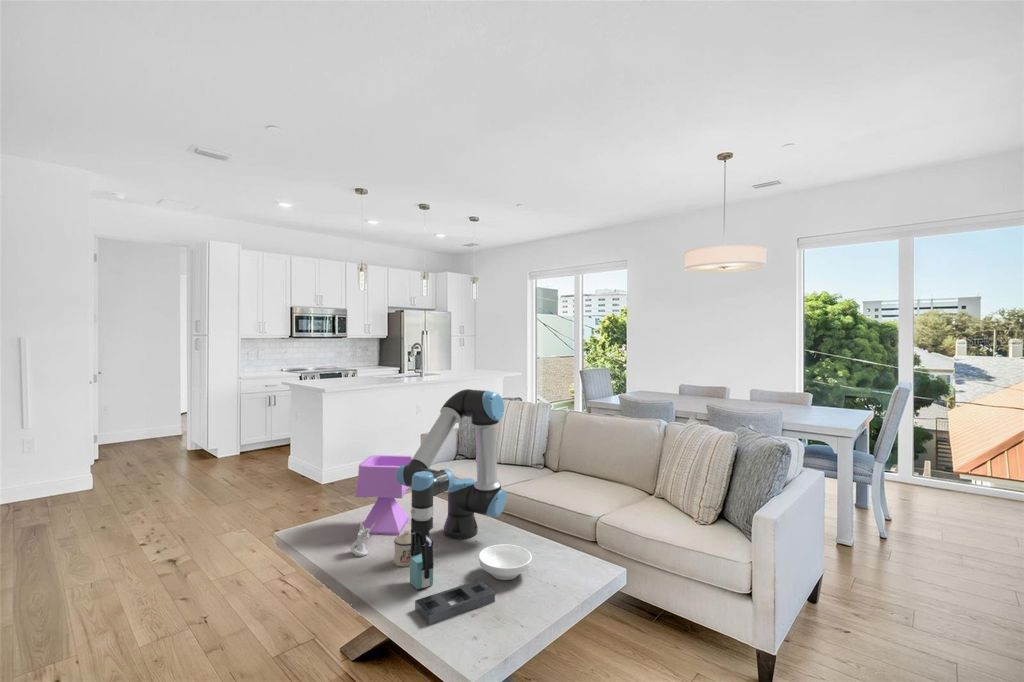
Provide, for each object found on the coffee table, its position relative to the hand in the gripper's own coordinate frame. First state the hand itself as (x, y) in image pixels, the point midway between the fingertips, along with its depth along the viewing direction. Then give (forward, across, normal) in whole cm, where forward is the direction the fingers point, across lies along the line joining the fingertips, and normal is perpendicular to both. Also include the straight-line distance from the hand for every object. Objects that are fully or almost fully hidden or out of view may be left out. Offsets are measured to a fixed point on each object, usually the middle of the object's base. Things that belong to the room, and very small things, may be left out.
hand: (421, 582), depth 171 cm
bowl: (+1, +10, +29) cm, 30 cm away
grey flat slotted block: (+1, +18, +4) cm, 19 cm away
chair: (+1, -56, +8) cm, 56 cm away
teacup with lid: (+1, -19, +4) cm, 19 cm away
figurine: (+1, -36, -8) cm, 37 cm away
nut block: (0, 0, 0) cm, 0 cm away
